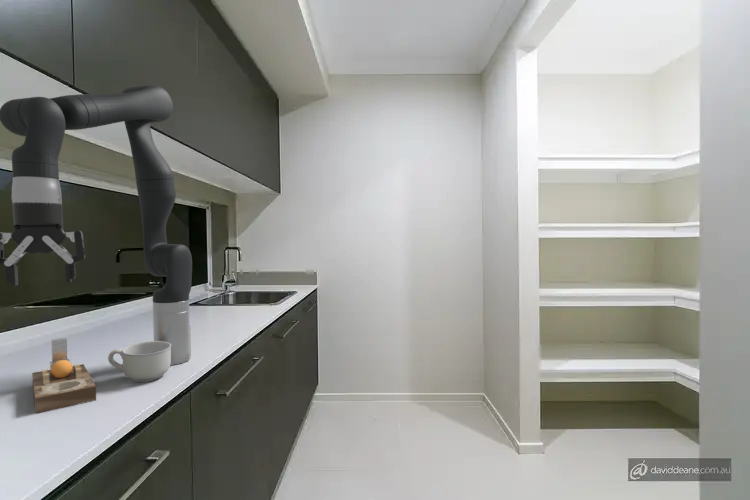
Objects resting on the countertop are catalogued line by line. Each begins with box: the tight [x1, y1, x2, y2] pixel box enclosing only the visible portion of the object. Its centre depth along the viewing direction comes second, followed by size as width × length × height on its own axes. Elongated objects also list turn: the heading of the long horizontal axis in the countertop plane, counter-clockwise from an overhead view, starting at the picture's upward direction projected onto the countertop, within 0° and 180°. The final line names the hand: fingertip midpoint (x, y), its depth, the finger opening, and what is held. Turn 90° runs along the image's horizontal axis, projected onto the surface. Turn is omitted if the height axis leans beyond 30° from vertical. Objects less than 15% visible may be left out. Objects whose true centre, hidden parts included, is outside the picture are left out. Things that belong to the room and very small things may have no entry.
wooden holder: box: [31, 363, 97, 414], centre depth 93 cm, size 21×10×5 cm, turn 41°
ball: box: [51, 360, 73, 378], centre depth 94 cm, size 4×4×4 cm
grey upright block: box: [49, 337, 71, 376], centre depth 97 cm, size 4×4×8 cm
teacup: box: [107, 340, 171, 383], centre depth 102 cm, size 14×11×8 cm
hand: (42, 283), depth 81 cm, fingers open, 8 cm apart
